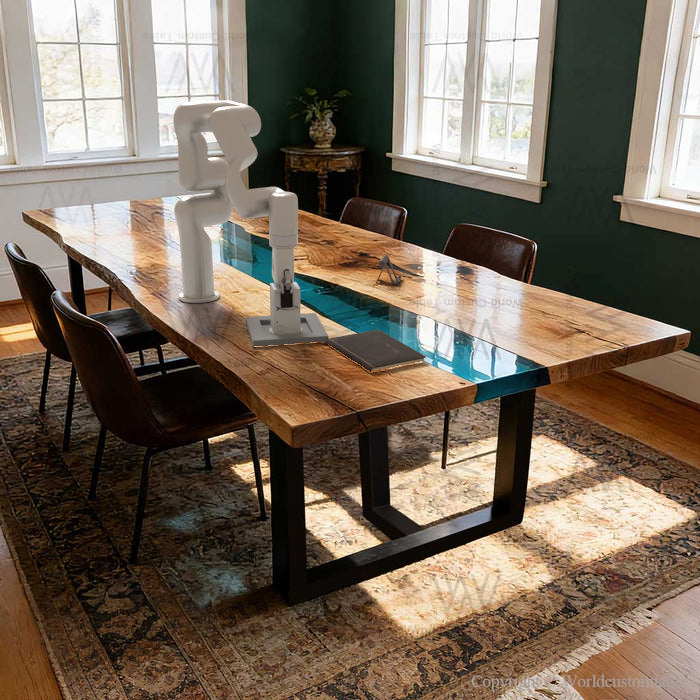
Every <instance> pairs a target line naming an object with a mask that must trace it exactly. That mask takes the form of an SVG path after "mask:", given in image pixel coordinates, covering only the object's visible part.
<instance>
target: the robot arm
mask: <svg viewBox="0 0 700 700" xmlns="http://www.w3.org/2000/svg"><path fill="white" fill-rule="evenodd" d="M172 119H173V123H172V124H173V128H174V133H175V136H176V141H177V150H178V151H177V155H178V156H177V157H178V161H177V162H178V181H179V186H180V187H181V189H182V190H183V191H185V192H188V193H198V192H208V191H210V193H207V194H206V193H205V194H196V195H187V196H185V197H182V198H180V199H179V200H177V202H176V203H175V205H174V210H173V211H174V218H175V222H176V225H177V229H178V237H179V246H180V247H179V248H180V261H181V262H180V264H181V277H182V278H181V279H182V291H181V292H180V293H178V300H180V301H181V302H183V303H190V304H203V303H210V302H213V301H216V300H218V299H219V298H220V292H219V291H218V290H215V279H214V278H215V277H214V265H213V264H214V260H213V245H212V240H211V239H212V238H211V237H210V235H209V234H208V233H207V232H206V231H205V228H206V227H211V226H218V225H223V224H226V223H227V222H228V221H229V220H230V219H231V216H232V207H233V208H234V210H235V211H236V213H237V214H238V215H239V216H240V217H242V218H244V219H245V220H246V219H247V220H250V219H257V218H263V217H264V218H265V217H268V232H269V233H268V236H269V238H268V239H269V240H268V241H269V243H268V244H269V247H271V248H272V251H271V253H272V255H271V256H272V257H271V278H272V279H273V283H275V284H276V285H278V284H281V291H282V293H280V296H281V308H292V307H293V293H292V284H293V283H294V282H295V281H294V280H295V248H297V247H298V246H299V201H298V200H299V199H298V196H297V194H296V193H294V192H290V191H285V190H283V189H282V188H280V187H278V186H268V187H258V188H249V189H247V188H246V186H245V184H244V182H243V180H242V178H241V173H240V172H242V171H243V170H245V169H246V168H248V167H250V166H251V165H252V164H253V163H254V162H255V161H256V159H257V157H258V149H257V147H256V146H255V144H254V141H253V140H252V137H255V136H257V135H258V134H260V131H261V128H262V122H261V121H262V120H261V117H260V115H259V113H258V111H257V110H256V109H255V108H254V107H252V106H250V105H248V104H245V103H239V102H235V101H233V100H195V101H186V102H184V103H181V104H178V106H177V107H176V108H175V111H174V113H173V117H172ZM202 133H212V134H213V136H214V137H215V140H216V142H217V144H218V146H219V148H220V149H221V152H222V153H223V155H224V157H225V159H223V158H221V157H218V156H216V157H209V153H208V151H209V150H208V149H209V147H208V142H207V140H206V138H205V136H204V135H203V134H202ZM284 285H286V286H284Z"/></svg>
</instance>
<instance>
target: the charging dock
mask: <svg viewBox="0 0 700 700" xmlns="http://www.w3.org/2000/svg"><path fill="white" fill-rule="evenodd" d="M300 321H301V332H300V333H282V334H274V332H273V330H272V328H271V315H258V316H245V326H246V325H247V326H246V329H247V328H248V329H247V331H248V335H250V336H249V339H250V338H251V339H250V342H252V343H251V345H253V346H252V348H253V347H254V346H268V345H284V344H294V343H310V342H327V340H328V339H329V335H328V332H327V331H326V329H325V327H324V326H323V324H322V322H321V320H320V318H319V317H318V315H317V313H316V312H314V313H313V312H311V313H300Z"/></svg>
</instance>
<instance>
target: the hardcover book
mask: <svg viewBox="0 0 700 700" xmlns="http://www.w3.org/2000/svg"><path fill="white" fill-rule="evenodd" d="M327 344H329V345H330V346H332V347H333V348H335V349H336V350H338V351H339V352H341V353H342V354H344V355H345V356H347V357H348V358H350V359H351V360H353V361H355V362H357V363H358V364H360V365H361V366H363V367H364V368H365V369H367V370H369V371H370V372H371V371H376V370H380V369H385V368H390V367H395V366H399V365H404V364H409V363H415V362H420V361H424V362H425V359H426V358H427V355H424V354H422V353H420V352H419V351H417V350H415V349H414V348H412V347H410V346H409V345H407V344H405V343H403V342H401V341H399V340H398V339H396V338H394V337H392V336H391V335H390V334H387V333H385V332H384V331H382V330H380V329H373V330H368V331H363V332H356V333H352V334H347V335H346V334H345V335H341V336H340V335H339V336H333V337H330V338H329V337H328V340H327V343H326V345H327Z"/></svg>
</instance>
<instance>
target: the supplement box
mask: <svg viewBox="0 0 700 700" xmlns="http://www.w3.org/2000/svg"><path fill="white" fill-rule="evenodd" d="M284 286H286V285H284ZM280 293H282V291H281V284H278V285H276V284H275V282H270V283H269V300H270V301H269V302H270V304H269V305H270V308H269V309H270V310H269V311H270V316H271V328H272V330H273V332H274V334H282V333H300V332H301V321H300V314H301V287H300V286H299V284H298V282H296V281H294V283H293V284H292V293H293V307H292V308H281V296H280Z"/></svg>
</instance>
